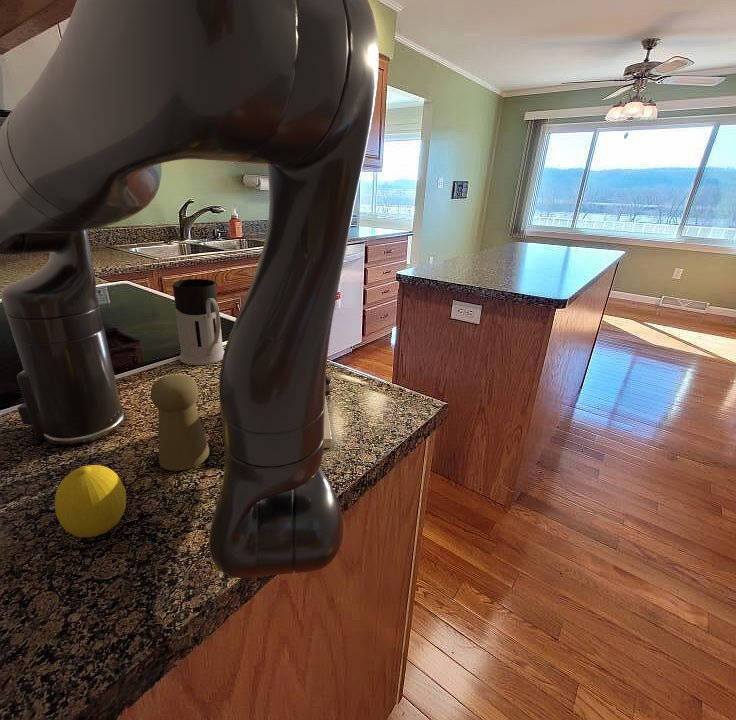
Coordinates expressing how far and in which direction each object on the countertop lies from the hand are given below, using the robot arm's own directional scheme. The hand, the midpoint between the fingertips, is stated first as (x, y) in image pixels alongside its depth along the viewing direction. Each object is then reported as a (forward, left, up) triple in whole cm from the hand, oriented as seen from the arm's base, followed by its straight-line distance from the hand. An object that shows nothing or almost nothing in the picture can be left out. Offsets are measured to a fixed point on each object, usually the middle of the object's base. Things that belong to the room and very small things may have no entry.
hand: (287, 362), depth 63 cm
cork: (-13, -14, -7) cm, 20 cm away
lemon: (-18, -26, -7) cm, 32 cm away
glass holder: (-16, +17, -7) cm, 25 cm away
